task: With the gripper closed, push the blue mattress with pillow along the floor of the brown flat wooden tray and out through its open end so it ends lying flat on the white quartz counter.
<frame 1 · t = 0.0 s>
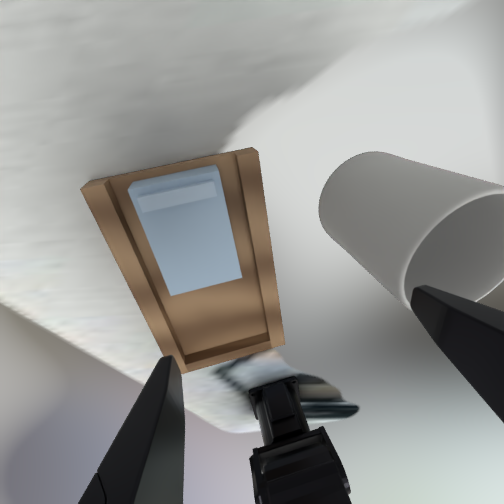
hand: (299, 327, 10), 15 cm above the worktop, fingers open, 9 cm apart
blue mattress with pillow: (191, 228, 22), point 1 cm above the worktop, touching brown flat wooden tray
brown flat wooden tray: (206, 273, 25), on the worktop
mug: (366, 213, 26), on the worktop
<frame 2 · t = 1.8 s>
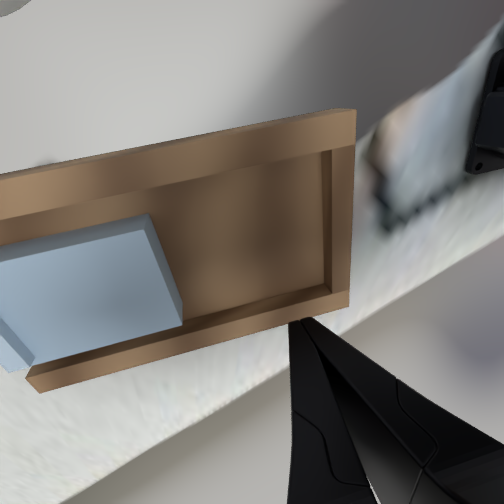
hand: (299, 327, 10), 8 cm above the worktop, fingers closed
blue mattress with pillow: (84, 282, 15), point 1 cm above the worktop, touching brown flat wooden tray
brown flat wooden tray: (176, 253, 16), on the worktop
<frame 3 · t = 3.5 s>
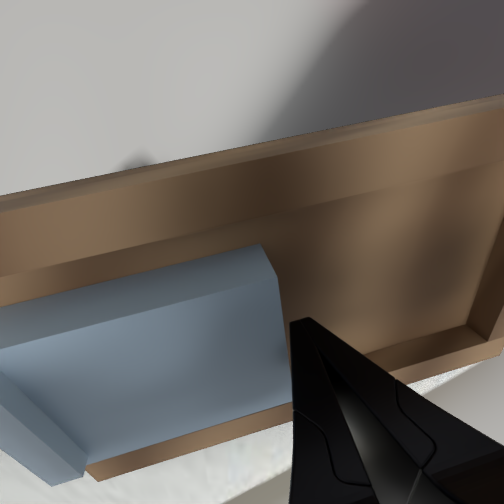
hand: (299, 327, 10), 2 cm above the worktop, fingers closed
blue mattress with pillow: (155, 340, 10), point 1 cm above the worktop, touching gripper
brown flat wooden tray: (290, 290, 11), on the worktop
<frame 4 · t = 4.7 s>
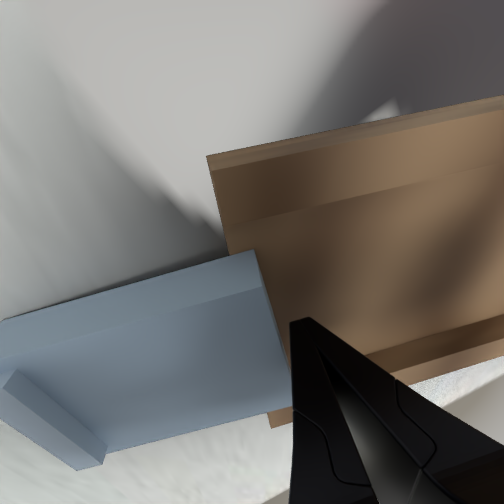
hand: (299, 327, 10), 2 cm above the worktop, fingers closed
blue mattress with pillow: (163, 342, 11), on the worktop, tilted 6°, touching brown flat wooden tray, gripper
brown flat wooden tray: (456, 247, 12), on the worktop
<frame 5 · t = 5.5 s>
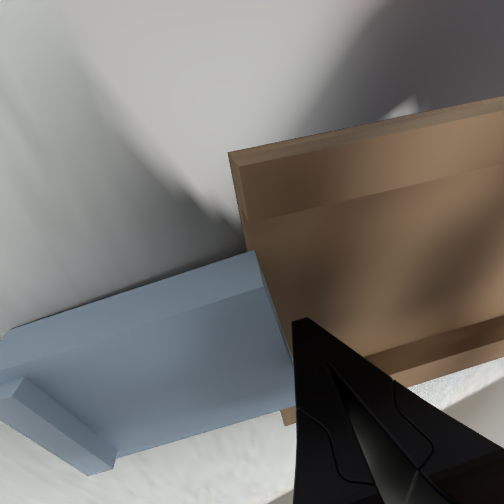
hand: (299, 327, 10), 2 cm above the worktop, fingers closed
blue mattress with pillow: (168, 345, 11), on the worktop, tilted 5°, touching brown flat wooden tray, gripper
brown flat wooden tray: (470, 245, 12), on the worktop
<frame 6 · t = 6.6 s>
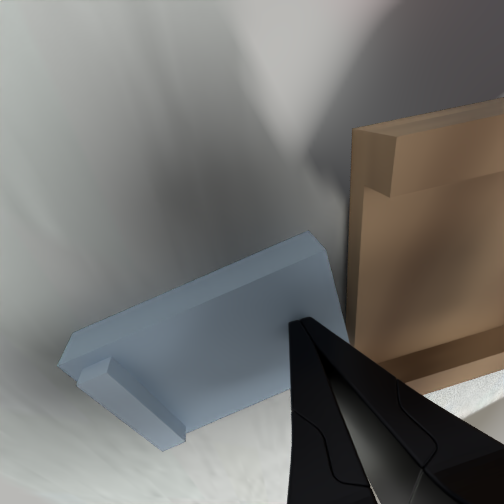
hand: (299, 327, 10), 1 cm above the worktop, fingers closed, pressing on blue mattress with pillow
blue mattress with pillow: (222, 324, 12), on the worktop, touching gripper
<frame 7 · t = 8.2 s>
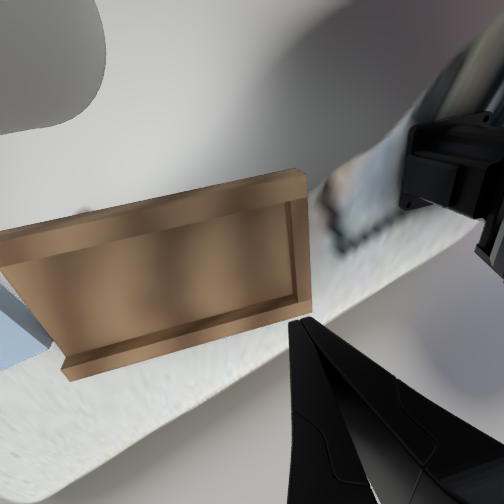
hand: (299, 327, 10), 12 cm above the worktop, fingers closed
brown flat wooden tray: (177, 272, 21), on the worktop
mug: (35, 2, 13), on the worktop
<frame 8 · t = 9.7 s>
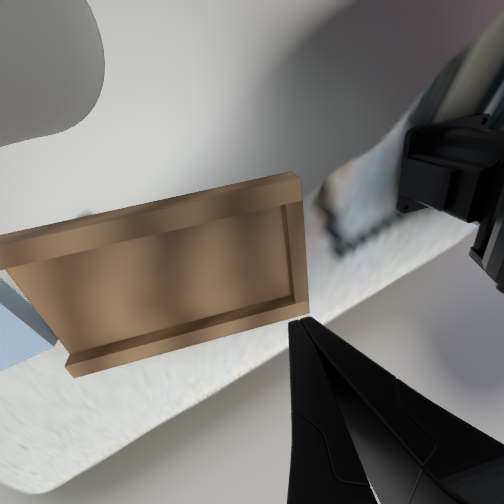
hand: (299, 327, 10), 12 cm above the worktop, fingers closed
brown flat wooden tray: (176, 273, 21), on the worktop
mug: (37, 16, 13), on the worktop
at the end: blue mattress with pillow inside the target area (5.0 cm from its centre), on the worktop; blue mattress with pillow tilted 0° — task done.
